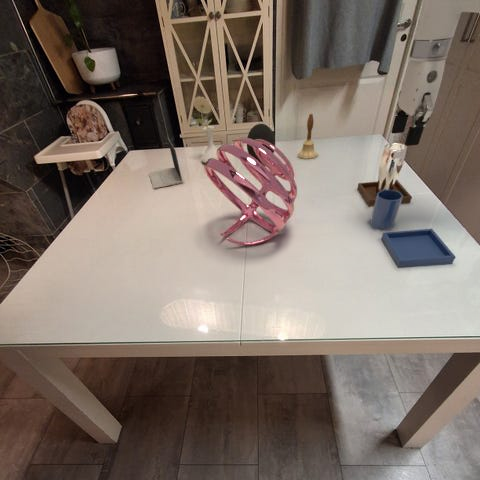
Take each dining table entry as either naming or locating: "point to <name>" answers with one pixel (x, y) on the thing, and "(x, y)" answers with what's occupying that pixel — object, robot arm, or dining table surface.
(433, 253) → the blue tray
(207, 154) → the flower in vase
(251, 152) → the decorative egg
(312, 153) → the hand bell
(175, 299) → the dining table surface
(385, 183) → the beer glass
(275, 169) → the spiral basket
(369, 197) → the walnut tray
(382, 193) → the blue cup
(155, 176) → the laptop
